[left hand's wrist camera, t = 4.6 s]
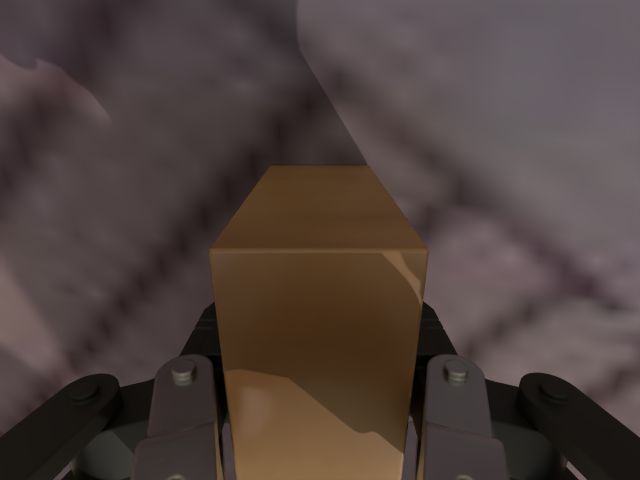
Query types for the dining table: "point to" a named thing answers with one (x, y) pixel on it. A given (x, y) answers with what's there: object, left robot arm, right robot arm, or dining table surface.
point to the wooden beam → (318, 325)
